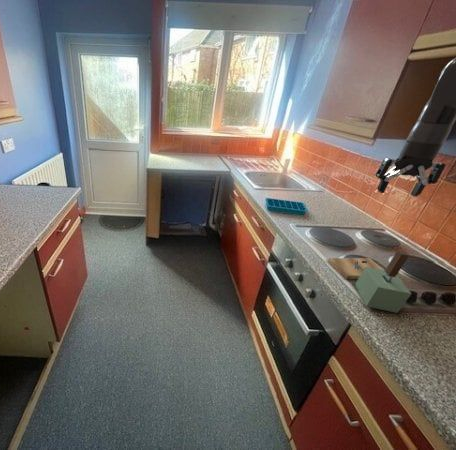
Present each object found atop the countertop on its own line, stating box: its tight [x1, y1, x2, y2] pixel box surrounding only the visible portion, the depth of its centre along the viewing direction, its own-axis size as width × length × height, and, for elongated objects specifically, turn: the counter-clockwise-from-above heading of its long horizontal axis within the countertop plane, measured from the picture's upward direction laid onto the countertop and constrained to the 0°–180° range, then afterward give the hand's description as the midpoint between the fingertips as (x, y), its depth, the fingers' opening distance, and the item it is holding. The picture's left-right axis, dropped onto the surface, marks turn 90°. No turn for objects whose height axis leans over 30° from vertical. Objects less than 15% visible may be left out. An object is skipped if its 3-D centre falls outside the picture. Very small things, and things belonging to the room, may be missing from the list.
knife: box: [383, 249, 410, 283], centre depth 75 cm, size 3×2×17 cm
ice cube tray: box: [264, 197, 309, 216], centre depth 135 cm, size 12×20×3 cm, turn 73°
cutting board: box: [327, 257, 385, 280], centre depth 92 cm, size 16×10×2 cm, turn 92°
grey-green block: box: [354, 267, 412, 314], centre depth 78 cm, size 10×8×8 cm
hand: (396, 193), depth 77 cm, fingers open, 8 cm apart
